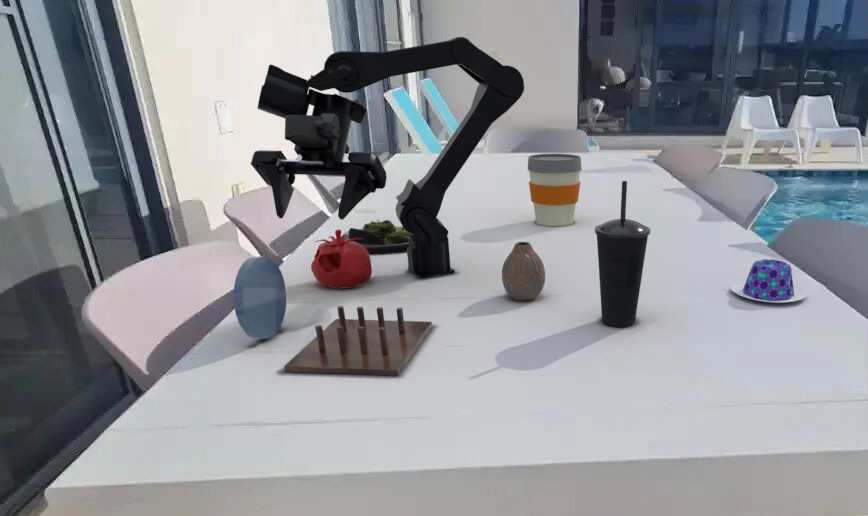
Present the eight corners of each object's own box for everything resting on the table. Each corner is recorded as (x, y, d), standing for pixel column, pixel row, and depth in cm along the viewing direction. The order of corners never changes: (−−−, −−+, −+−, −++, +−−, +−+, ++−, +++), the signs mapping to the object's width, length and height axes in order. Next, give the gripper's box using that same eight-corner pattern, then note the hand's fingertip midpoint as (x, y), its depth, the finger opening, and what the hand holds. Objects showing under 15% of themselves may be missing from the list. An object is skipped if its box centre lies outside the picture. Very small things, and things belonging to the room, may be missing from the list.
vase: (552, 293, 105) (552, 240, 101) (533, 306, 99) (532, 251, 95) (515, 287, 107) (514, 236, 104) (494, 300, 101) (492, 245, 98)
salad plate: (340, 233, 141) (337, 212, 139) (423, 229, 145) (421, 209, 143) (331, 256, 124) (327, 233, 122) (424, 251, 128) (422, 228, 126)
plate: (285, 311, 93) (264, 242, 87) (293, 311, 93) (272, 242, 87) (250, 355, 84) (223, 281, 78) (259, 355, 84) (232, 281, 78)
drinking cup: (649, 315, 96) (658, 178, 87) (638, 333, 89) (646, 187, 81) (600, 309, 98) (604, 175, 89) (585, 326, 91) (588, 184, 83)
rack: (336, 323, 92) (332, 295, 90) (432, 326, 91) (429, 298, 89) (284, 372, 77) (278, 339, 76) (398, 375, 77) (394, 343, 75)
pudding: (716, 294, 104) (719, 263, 102) (752, 278, 112) (755, 249, 110) (785, 312, 97) (790, 279, 95) (818, 294, 105) (823, 263, 103)
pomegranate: (357, 271, 115) (350, 219, 112) (385, 283, 109) (379, 229, 105) (303, 282, 109) (294, 228, 105) (330, 296, 103) (321, 239, 99)
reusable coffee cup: (523, 226, 148) (521, 159, 142) (534, 215, 159) (533, 152, 153) (576, 229, 146) (577, 161, 140) (584, 217, 157) (585, 154, 151)
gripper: (243, 92, 92) (217, 183, 86) (370, 93, 91) (352, 185, 85) (279, 143, 102) (258, 227, 97) (393, 144, 101) (378, 230, 96)
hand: (309, 217), depth 93 cm, fingers open, 9 cm apart
